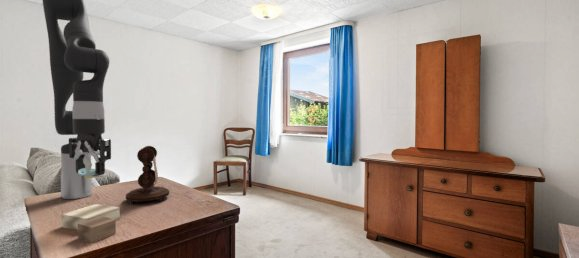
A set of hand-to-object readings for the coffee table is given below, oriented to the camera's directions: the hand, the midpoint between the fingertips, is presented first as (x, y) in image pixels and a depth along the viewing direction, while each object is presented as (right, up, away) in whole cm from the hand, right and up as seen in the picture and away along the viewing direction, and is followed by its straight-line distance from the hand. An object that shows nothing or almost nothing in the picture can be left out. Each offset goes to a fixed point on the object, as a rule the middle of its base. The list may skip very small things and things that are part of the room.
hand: (90, 173), depth 82 cm
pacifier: (0, -1, +1) cm, 1 cm away
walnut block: (+8, -15, -8) cm, 19 cm away
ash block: (0, -15, +1) cm, 15 cm away
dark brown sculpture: (+5, -14, +24) cm, 28 cm away
